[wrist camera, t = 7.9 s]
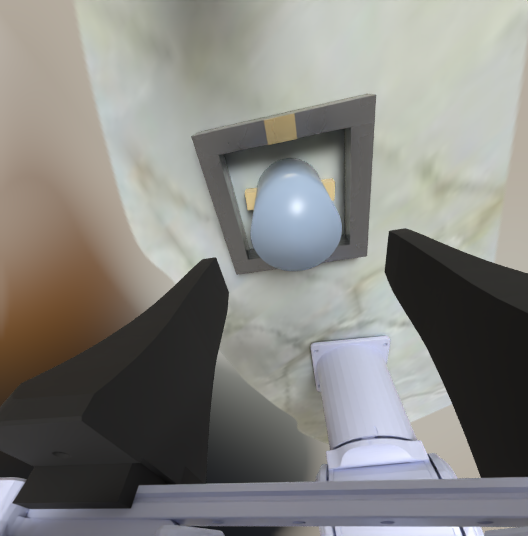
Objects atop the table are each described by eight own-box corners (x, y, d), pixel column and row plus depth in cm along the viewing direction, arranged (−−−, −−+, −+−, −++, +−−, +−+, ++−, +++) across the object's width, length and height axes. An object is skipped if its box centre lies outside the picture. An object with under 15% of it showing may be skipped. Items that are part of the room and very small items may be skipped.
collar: (361, 245, 19) (367, 257, 18) (238, 263, 21) (236, 276, 19) (366, 94, 14) (377, 94, 12) (197, 132, 15) (190, 136, 14)
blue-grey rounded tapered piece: (333, 152, 15) (361, 182, 10) (331, 217, 18) (353, 266, 13) (241, 164, 16) (227, 198, 11) (252, 226, 18) (245, 275, 14)
